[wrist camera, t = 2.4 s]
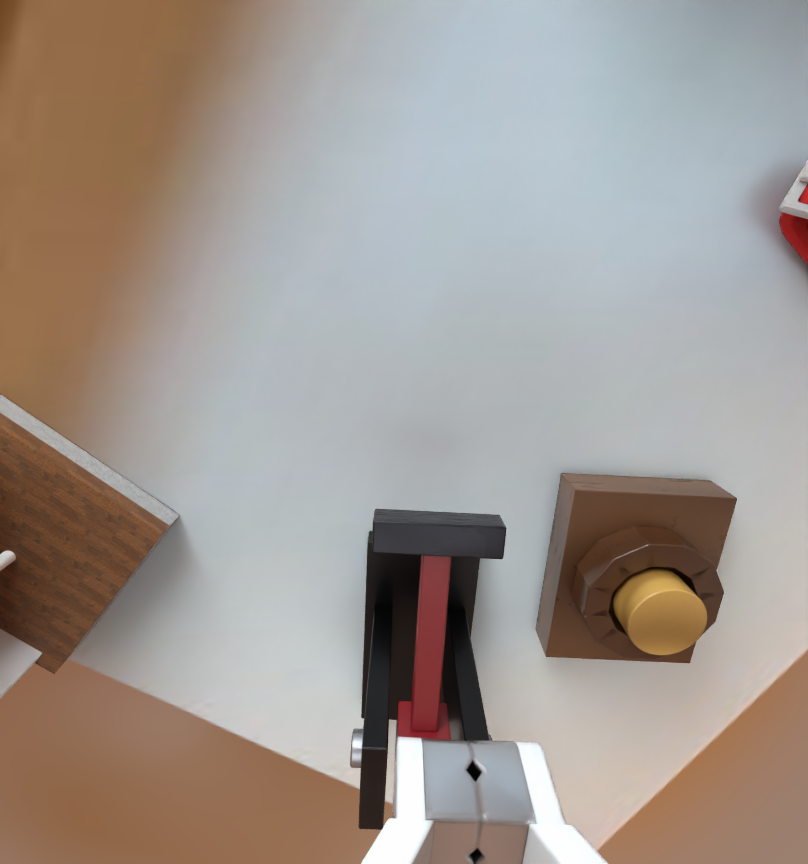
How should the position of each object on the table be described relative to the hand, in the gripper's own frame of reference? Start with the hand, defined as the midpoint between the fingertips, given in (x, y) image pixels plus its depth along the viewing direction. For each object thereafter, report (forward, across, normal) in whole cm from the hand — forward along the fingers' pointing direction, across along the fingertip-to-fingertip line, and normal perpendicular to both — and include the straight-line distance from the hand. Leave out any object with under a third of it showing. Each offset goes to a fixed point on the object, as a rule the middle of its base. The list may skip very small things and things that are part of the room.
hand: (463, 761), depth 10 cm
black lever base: (+16, 0, +10) cm, 19 cm away
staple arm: (+10, 0, +5) cm, 11 cm away
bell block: (+16, -11, +4) cm, 20 cm away
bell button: (+13, -11, +5) cm, 17 cm away
